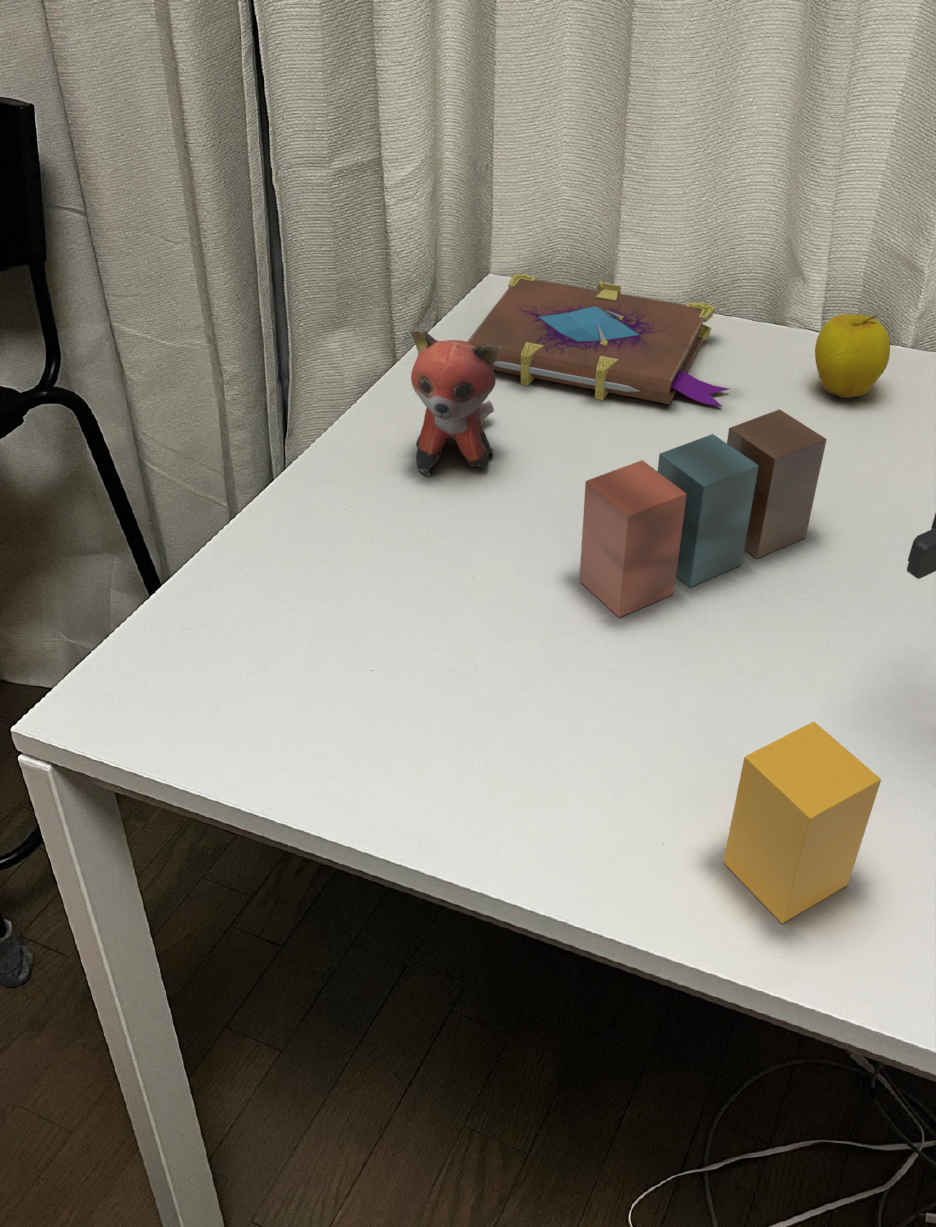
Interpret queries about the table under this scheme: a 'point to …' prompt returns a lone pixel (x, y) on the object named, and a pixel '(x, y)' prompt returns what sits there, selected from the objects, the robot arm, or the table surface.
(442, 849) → the table surface
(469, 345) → the stuffed fox
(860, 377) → the apple
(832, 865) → the block
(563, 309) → the book
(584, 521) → the three coloured blocks
